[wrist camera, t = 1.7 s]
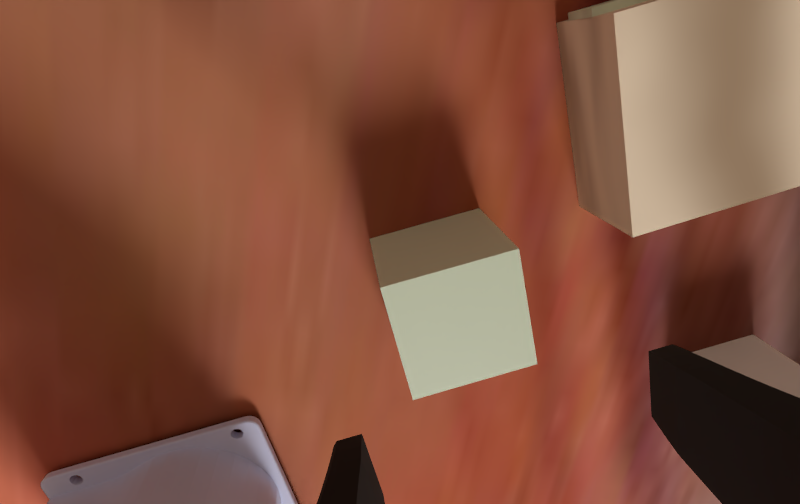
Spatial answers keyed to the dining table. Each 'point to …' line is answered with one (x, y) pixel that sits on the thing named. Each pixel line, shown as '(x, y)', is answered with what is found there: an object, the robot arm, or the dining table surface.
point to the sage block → (454, 301)
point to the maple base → (681, 106)
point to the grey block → (757, 362)
